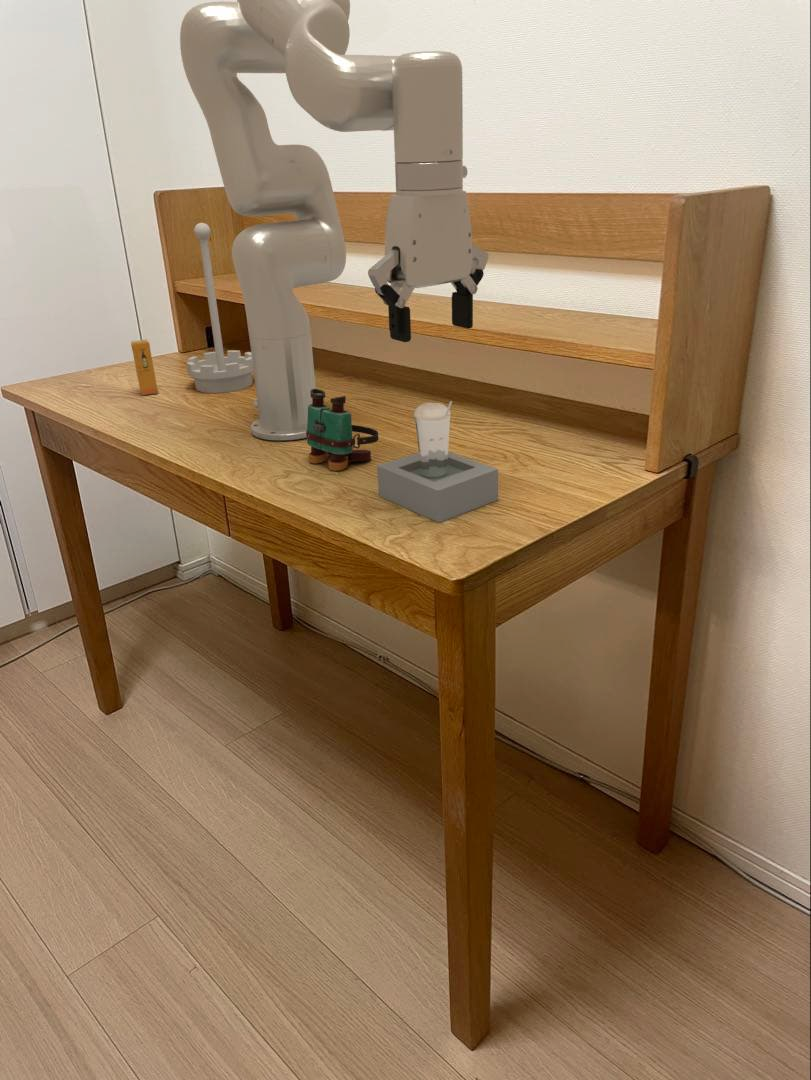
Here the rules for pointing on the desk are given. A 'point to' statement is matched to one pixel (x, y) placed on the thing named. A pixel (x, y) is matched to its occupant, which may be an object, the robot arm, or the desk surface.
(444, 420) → the milkshake
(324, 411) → the binoculars
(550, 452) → the desk surface
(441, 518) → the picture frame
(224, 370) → the flag stand
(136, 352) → the supplement box
